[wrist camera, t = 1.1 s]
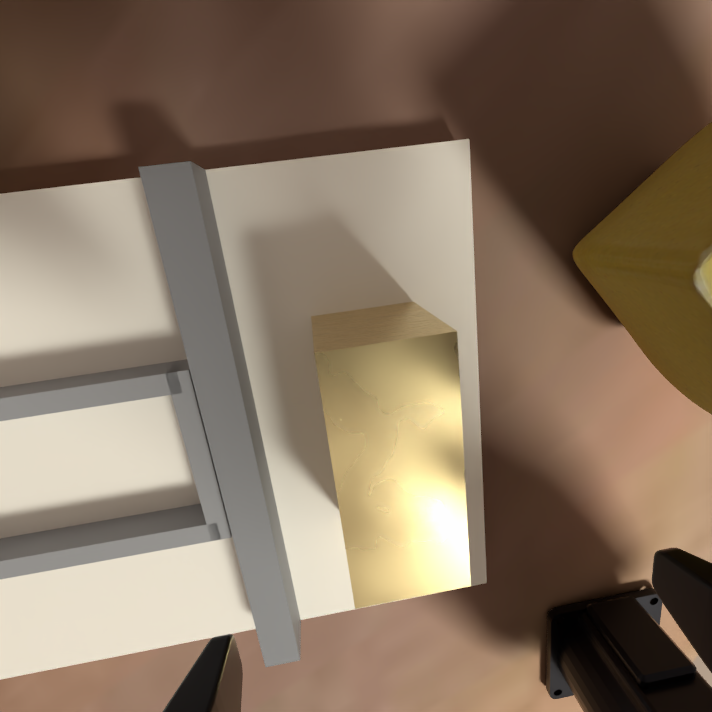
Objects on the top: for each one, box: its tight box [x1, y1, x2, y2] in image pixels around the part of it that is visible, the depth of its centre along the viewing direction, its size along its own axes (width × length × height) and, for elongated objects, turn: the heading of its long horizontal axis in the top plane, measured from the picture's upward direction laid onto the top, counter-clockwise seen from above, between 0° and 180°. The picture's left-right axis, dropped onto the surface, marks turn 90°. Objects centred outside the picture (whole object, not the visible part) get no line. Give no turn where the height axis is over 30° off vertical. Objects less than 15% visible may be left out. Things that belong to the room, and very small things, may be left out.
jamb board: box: [0, 139, 487, 679], centre depth 17 cm, size 20×23×3 cm
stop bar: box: [311, 302, 471, 609], centre depth 15 cm, size 9×4×5 cm, turn 7°
